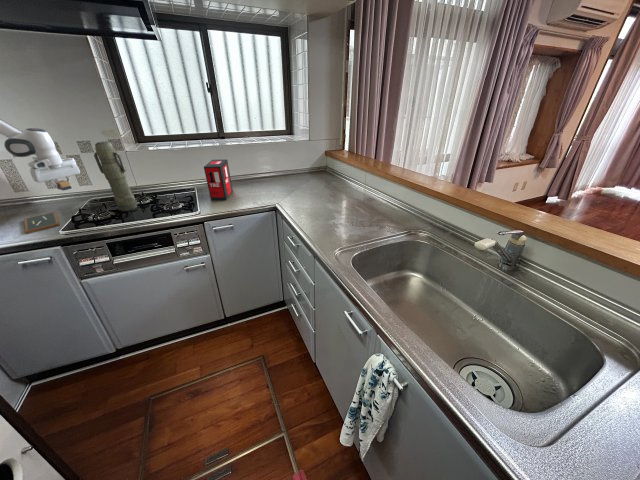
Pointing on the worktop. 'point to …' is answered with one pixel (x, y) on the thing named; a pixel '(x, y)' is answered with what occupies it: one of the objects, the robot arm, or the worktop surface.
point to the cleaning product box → (218, 179)
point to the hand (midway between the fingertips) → (63, 185)
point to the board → (41, 222)
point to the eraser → (63, 185)
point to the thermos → (115, 175)
